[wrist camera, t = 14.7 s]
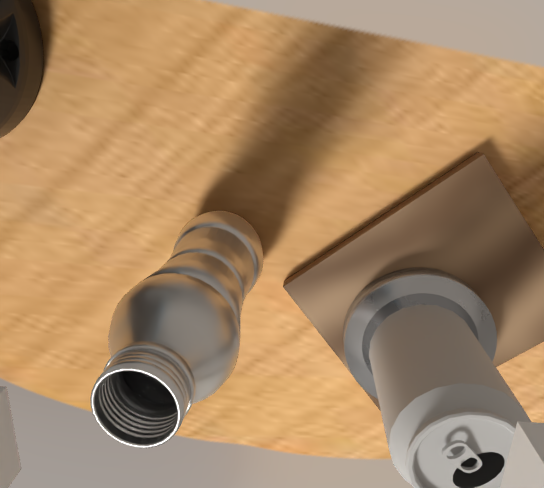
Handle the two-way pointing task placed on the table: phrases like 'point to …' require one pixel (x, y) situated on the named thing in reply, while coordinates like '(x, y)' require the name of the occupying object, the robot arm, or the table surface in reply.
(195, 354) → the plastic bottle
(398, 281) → the grey hollow ring
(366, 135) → the table surface
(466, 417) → the can
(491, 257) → the board
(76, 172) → the table surface
